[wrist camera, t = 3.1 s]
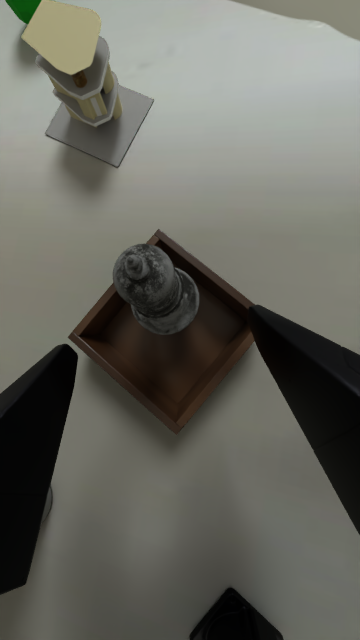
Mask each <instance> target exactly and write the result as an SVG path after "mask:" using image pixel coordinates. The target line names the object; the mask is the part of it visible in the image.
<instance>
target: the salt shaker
mask: <svg viewBox="0 0 360 640" xmlns="http://www.w3.org/2000/svg"><path fill="white" fill-rule="evenodd" d="M113 282H114V285H115V288H116V290H117V291H118V293H119V295H120V296H121V297H122V298H123V299H124V300H125V301H126V302H128V303H130V304H131V308H132V311H133V315H134V316H135V318H136V320H137V321H138V323H139V324H140V325H142V326H143V327H144V328H145V329H147V330H149V331H150V332H152V333H156V334H160V335H167V334H173V333H176V332H179V331H181V330H183V329H184V328H186V327H187V326H188V325H189V324H190V323H191V322H192V321H193V319H194V317H195V316H196V314H197V311H198V307H199V292H198V289H197V286H196V284H195V283H194V281H193V280H192V278H191V277H190V276H189V275H188V274H187V273H185V272H184V271H182V270H180V269H178V268H175V267H173V264H172V261H171V260H170V258H169V257H168V255H167V254H166V253H165V252H163V251H162V250H161V249H160V248H158V247H156V246H154V245H150V244H137V245H134V246H131V247H130V248H128V249H126V250H125V251H124V252H123V253H122V254H121V255H120V256H119V257H118V259H117V261H116V263H115V266H114V270H113Z"/></svg>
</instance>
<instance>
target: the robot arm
mask: <svg viewBox="0 0 360 640" xmlns="http://www.w3.org/2000/svg"><path fill="white" fill-rule="evenodd" d="M247 322H248V325H249V327H250V330H251V332H252V335H253V338H254V340H255V343H256V345H257V347H258V350H259V352H260V354H261V356H262V357H263V359H264V361H265V363H266V365H267V367H268V368H269V370H270V372H271V374H272V376H273V378H274V379H275V381H276V383H277V385H278V387H279V389H280V390H281V392H282V394H283V396H284V398H285V400H286V401H287V403H288V405H289V407H290V409H291V411H292V412H293V414H294V416H295V418H296V420H297V422H298V423H299V425H300V427H301V429H302V431H303V432H304V434H305V436H306V438H307V440H308V442H309V443H310V445H311V447H312V449H313V450H314V453H315V455H316V457H317V458H318V460H319V462H320V464H321V466H322V468H323V469H324V471H325V473H326V475H327V477H328V478H329V480H330V482H331V484H332V486H333V488H334V489H335V491H336V493H337V495H338V497H339V499H340V500H341V502H342V504H343V506H344V508H345V510H346V511H347V513H348V515H349V517H350V519H351V521H352V522H353V524H354V526H355V528H356V529H357V531H358V533H359V534H360V355H359V354H357V353H355V352H353V351H351V350H349V349H347V348H345V347H341V346H340V345H339V344H337V343H335V342H333V341H331V340H329V339H327V338H325V337H323V336H321V335H319V334H317V333H315V332H313V331H311V330H309V329H307V328H305V327H303V326H301V325H299V324H297V323H295V322H293V321H291V320H289V319H287V318H285V317H283V316H280V315H278V314H276V313H274V312H272V311H270V310H268V309H266V308H264V307H262V306H260V305H253V306H250V307H249V309H248V316H247ZM77 361H78V355H77V353H76V352H75V351H74V350H73V349H72V348H71V347H70V346H69V345H68V344H62V345H58V346H56V347H55V348H54V349H53V350H51V351H50V352H49V353H48V354H47V355H45V356H44V357H43V358H42V359H41V360H40V361H38V362H37V363H36V364H35V365H34V366H33V367H31V368H30V369H29V370H28V371H27V372H25V373H24V374H23V375H22V376H21V377H20V378H18V379H17V380H16V381H15V382H14V383H12V384H11V385H10V386H9V387H8V388H7V389H5V390H4V391H3V392H2V393H1V394H0V595H1V594H4V593H6V592H9V591H11V590H13V589H16V588H18V587H21V586H23V585H25V584H26V581H27V578H28V575H29V571H30V567H31V563H32V559H33V555H34V550H35V546H36V542H37V538H38V534H39V530H40V526H41V522H42V517H43V513H44V509H45V505H46V501H47V497H48V495H47V494H48V492H49V488H50V484H51V480H52V475H53V471H54V467H55V463H56V459H57V455H58V451H59V447H60V443H61V438H62V434H63V430H64V426H65V422H66V418H67V414H68V410H69V405H70V401H71V397H72V393H73V389H74V383H75V376H76V369H77ZM190 640H284V639H283V636H282V634H281V633H280V632H279V631H278V630H277V629H276V628H275V627H274V626H272V625H271V624H270V623H269V622H268V621H267V620H266V619H265V618H264V617H263V616H262V615H261V614H260V613H259V612H258V611H257V610H256V609H255V608H254V607H253V606H251V605H250V604H249V603H248V602H247V601H246V600H245V599H244V598H243V597H242V596H241V595H240V594H239V593H238V592H237V591H236V590H235V589H233V588H229V589H227V591H226V592H225V593H224V594H223V595H222V597H221V598H220V599H219V600H218V602H217V603H216V604H215V605H214V606H213V608H212V609H211V610H210V611H209V613H208V614H207V615H206V616H205V617H204V619H203V620H202V621H201V622H200V624H199V625H198V626H197V627H196V628H195V630H194V631H193V632H192V633H191V635H190Z"/></svg>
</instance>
